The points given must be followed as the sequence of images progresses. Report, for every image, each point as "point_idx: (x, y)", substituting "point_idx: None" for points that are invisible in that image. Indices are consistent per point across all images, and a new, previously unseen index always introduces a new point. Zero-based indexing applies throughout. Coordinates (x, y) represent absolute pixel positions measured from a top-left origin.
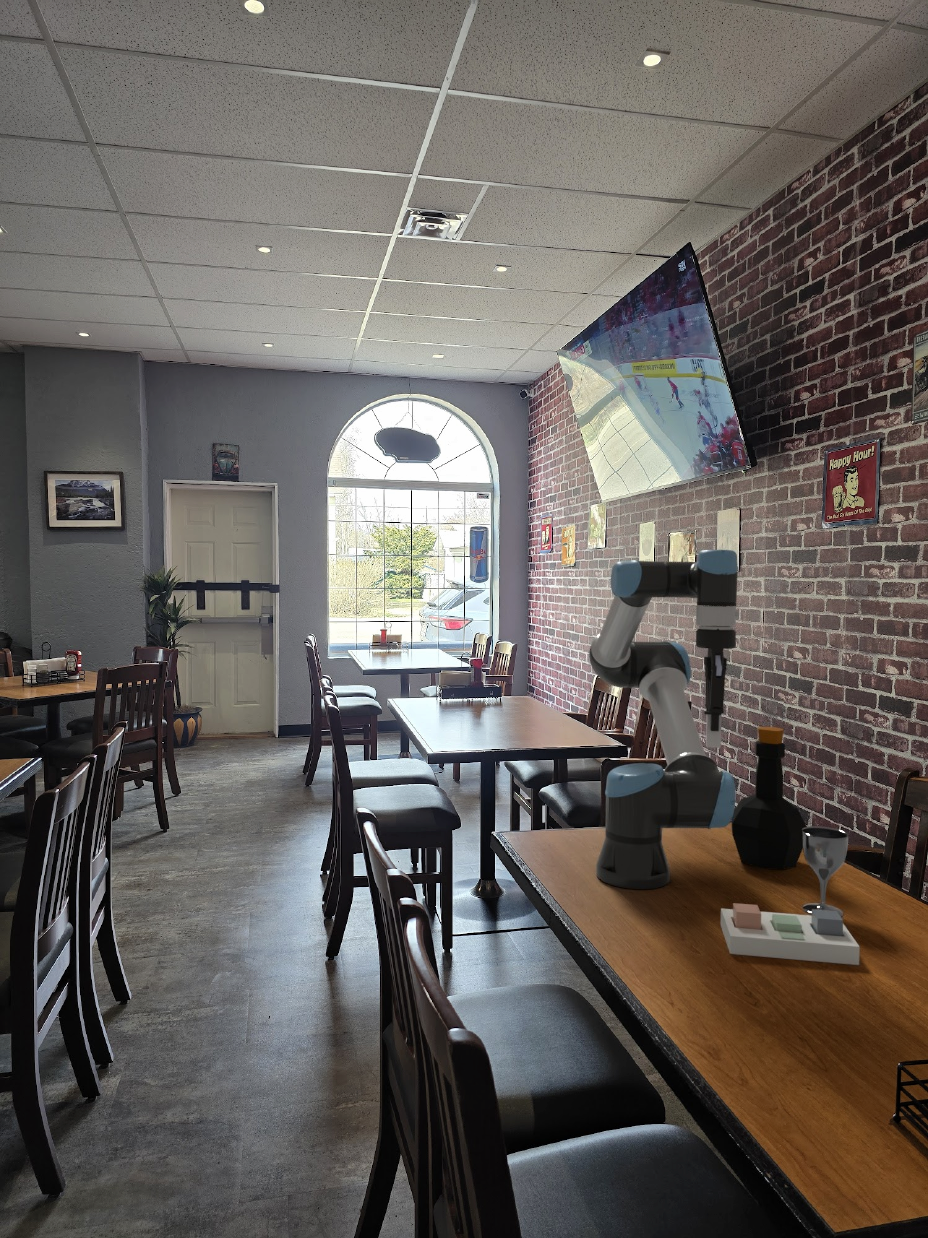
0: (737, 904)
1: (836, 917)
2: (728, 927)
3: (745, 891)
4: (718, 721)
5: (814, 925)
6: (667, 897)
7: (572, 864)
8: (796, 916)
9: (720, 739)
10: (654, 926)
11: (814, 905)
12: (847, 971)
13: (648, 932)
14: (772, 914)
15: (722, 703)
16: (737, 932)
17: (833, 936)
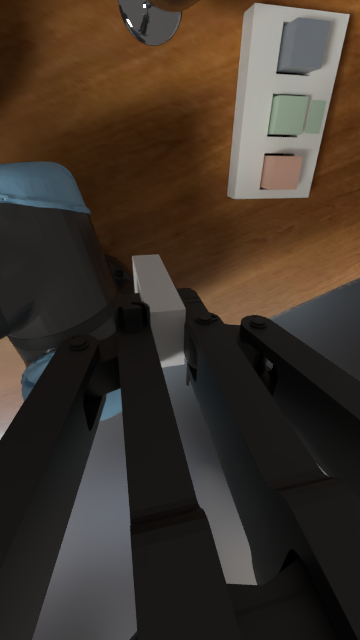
0: (274, 184)
1: (320, 29)
2: (287, 196)
3: (95, 137)
4: (205, 308)
5: (296, 70)
6: (151, 254)
7: None
8: (282, 95)
9: (162, 266)
10: (236, 267)
11: (147, 16)
12: (344, 50)
13: (250, 272)
14: (275, 133)
15: (302, 347)
16: (300, 187)
17: None
